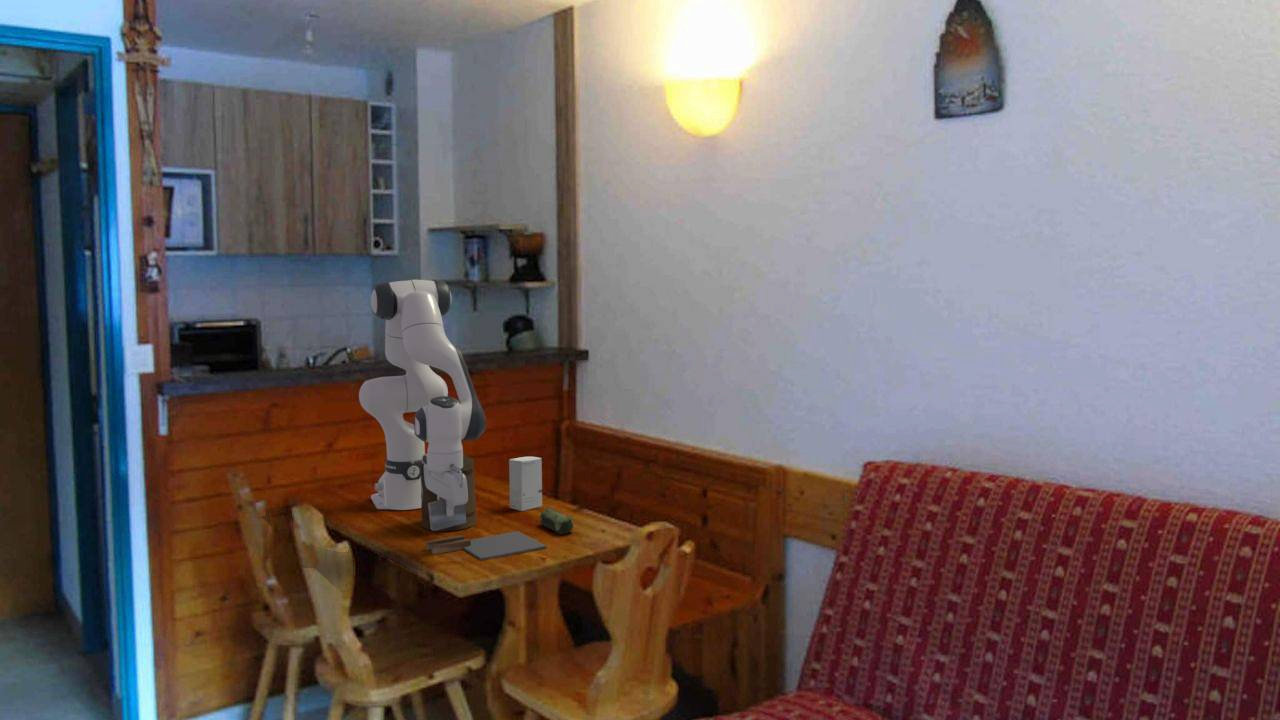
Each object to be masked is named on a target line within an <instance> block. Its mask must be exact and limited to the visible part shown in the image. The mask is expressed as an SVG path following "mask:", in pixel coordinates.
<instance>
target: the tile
mask: <svg viewBox="0 0 1280 720" xmlns="http://www.w3.org/2000/svg"><path fill="white" fill-rule="evenodd" d="M446 505H447V504H446V500H445V499H442V500H438V501H434V502H430V503H428V508H429V517H430V527H431V530H430V531H432V530H433V532H438V531H437V530H440V529H444V528H448V527H452V526H456V525H460V524H463V523H467V522H466V512H465V504H463V505H456V506H455V507H454V514H453V516H447V515H445V508H446Z"/></svg>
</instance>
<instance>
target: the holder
mask: <svg viewBox="0 0 1280 720" xmlns="http://www.w3.org/2000/svg"><path fill="white" fill-rule="evenodd" d="M470 540H471V539H469V538H466V539H465V536H464V535H462V534H461V535H455V536H449V537H444V538H443V537H442V538H438V539H433V540H427V541H425V547H424V548H425V550H426V551H430V552H431V554H432V555H434V554H435V555H440V554H445V552H446V553H450V552H455V551H461V550H464V549H463V547H466V546H471V541H470Z"/></svg>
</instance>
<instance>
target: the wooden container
mask: <svg viewBox="0 0 1280 720" xmlns="http://www.w3.org/2000/svg"><path fill="white" fill-rule="evenodd" d="M474 461H475V460H474V458H472V457H470V456H465V455H463V468H461V472H462V473H463V474H464V475H465V477H466V480H467V489H468V501H467V503H466V504H465V512H466V522H467V523H463V524H460V525H456V526H452V527H448V528H444V529H440V530H437V531H436V532H454V531H461V530H464V529H465V530H466V529H469V528H471V527H474V526H475V525H476V524H477V512H476V510H477V505H476V503H477V502H476V487H475V486H476V484H475V483H476V482H475V464H474ZM434 501H438V499H437V494H435V493H433V492H432V491H430V490H428V489H427V488H426V485H425V480H424V463H422V461H421V508H420V509H421V525H422V528H424V529H425V530H428V531H433V530H431V527H430V517H429V508H428V503H430V502H434ZM433 532H434V531H433Z"/></svg>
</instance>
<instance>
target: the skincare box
mask: <svg viewBox="0 0 1280 720" xmlns="http://www.w3.org/2000/svg"><path fill="white" fill-rule="evenodd" d="M542 459H543V458H542V457H537V456H532V455H529V456H522V457H517V458H515V457H514V458H509V460H508V467H509V468H508V472H509V509H514V510H516V511H519V512H525V511H528V510H531V509H536V508H541V507H543V474H542V473H543V471H542V470H543V469H542V465H543V462H542Z"/></svg>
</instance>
